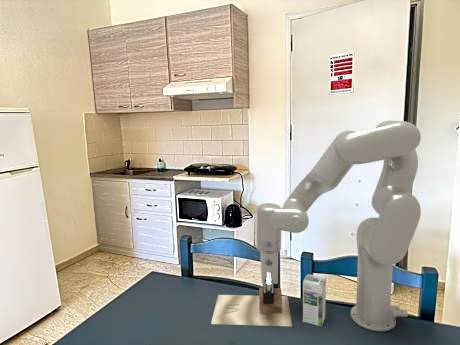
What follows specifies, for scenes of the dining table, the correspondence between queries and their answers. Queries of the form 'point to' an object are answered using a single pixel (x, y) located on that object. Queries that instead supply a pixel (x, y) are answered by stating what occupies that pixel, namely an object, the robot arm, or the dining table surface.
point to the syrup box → (314, 299)
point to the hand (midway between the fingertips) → (268, 294)
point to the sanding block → (271, 308)
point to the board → (248, 312)
